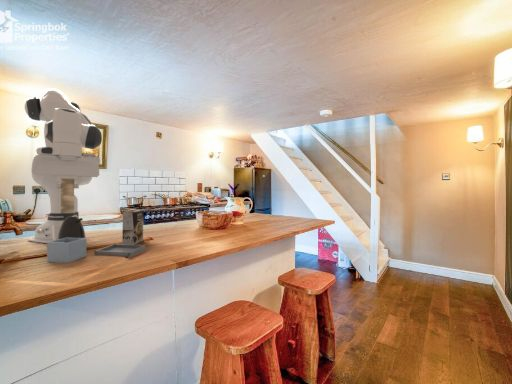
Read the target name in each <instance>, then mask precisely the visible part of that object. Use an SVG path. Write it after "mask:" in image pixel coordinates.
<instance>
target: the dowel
mask: <svg viewBox="0 0 512 384" xmlns="http://www.w3.org/2000/svg"><path fill="white" fill-rule="evenodd" d="M74 195H75V188H74V179H62V178H61V213H74Z"/></svg>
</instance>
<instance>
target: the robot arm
mask: <svg viewBox="0 0 512 384" xmlns="http://www.w3.org/2000/svg"><path fill="white" fill-rule="evenodd" d="M24 110H25V113H26V115H27V116H28V118H29V119H31V120H34V121H37V122H38V121H42V122H44V127H43V131H44V132H43V133H44V135H43V136H44V137H43V138H44V144H45V146H42V147H37V148H36V149H35V150H36V155H35V156H34V157H33V159H32V164H31V177H32V180H33V182H35V183H36V184H37V185H39V186H40V187H42V188H43V189H44V190H45V191H46V193H47V194H48V198H49V202H50V204H49V205H50V213H47V214H45V217H47V220H45V221H44V222H43V223H41V224H40V225H38V226H37V227H35V230H34V236H33V237H29V238H27V241H28V242H33V243H34V242H35V243H42V244H43V243H44V244H47V242H50V241H54V240H57V239H58V234H59V230H60V227H61V225H62V223H63V221H64V220H65V219H66V218H67V217H69V216H76V217H78V218H79V217H80V216H79V215H80V214H79V210H78V205H79V204H78V197H77V196H76V194H74V213H61V178H62V179H74V189H80V186H85V185H89V184H90V183H91V181H92V179H93V178H98V177H99V176H100V166H99V165H100V164H101V158H100V156H98V155H96V154H95V153H87V152H86V153H85V152H83V148H85V149H89V150H94V149H96V148H98V147H100V146H101V144H102V140H103V137H102V132H101V130H100V129H99V128H98V126H96V125H95V124H94V123H92V121H91V120H90V119H89V118H88V116H87V115H86V114H85V113H84V112H83V111H82V110H81V108H80V105H79V103H77V102H74V101H70V100H69V99H68V97H67V96H66V95H65V94H64V93H63V92H62V91H61V90H59V89H58V88H50V87H49V88H46V89H44V90H43V91H42V92H41V94H40V97H36V96H34V97H29V98H28V99H26V101H25V103H24ZM79 219H80V218H79Z"/></svg>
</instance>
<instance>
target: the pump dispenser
mask: <svg viewBox="0 0 512 384" xmlns="http://www.w3.org/2000/svg"><path fill="white" fill-rule="evenodd" d="M82 221H83V218H82V217H80V218H78V217H76V216H69V217H67V218H66V219H65V220H64V221H63V223H62V225H61V227H60V230H59V234H58V239H62V238H66V237H72V238H86V239H87V237H86V232H85V227H84V225H83V223H82ZM58 239H57V240H58Z"/></svg>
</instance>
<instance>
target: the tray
mask: <svg viewBox="0 0 512 384" xmlns="http://www.w3.org/2000/svg"><path fill="white" fill-rule="evenodd" d="M146 247H147V246H146V245H143V244H141V245H140V244H135V245H127V244H122V243H113V244H111V245H107V246H105V247H102V248H99V249H97V250H94V255H98V256H99V255H100V256H115V257H116V256H118V257H124V259H131V258H132V257H135V256H137V255H138V254H141V253H142V252H145V251H146Z"/></svg>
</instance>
